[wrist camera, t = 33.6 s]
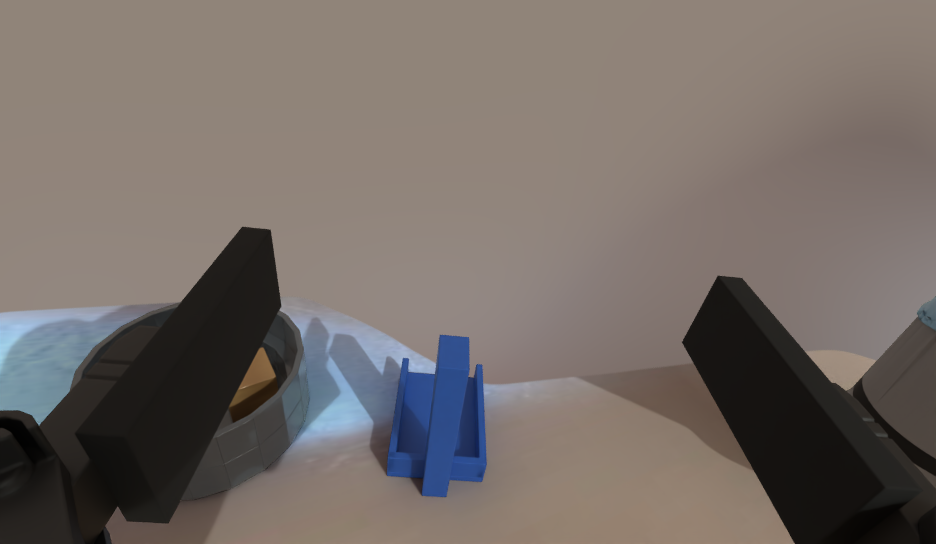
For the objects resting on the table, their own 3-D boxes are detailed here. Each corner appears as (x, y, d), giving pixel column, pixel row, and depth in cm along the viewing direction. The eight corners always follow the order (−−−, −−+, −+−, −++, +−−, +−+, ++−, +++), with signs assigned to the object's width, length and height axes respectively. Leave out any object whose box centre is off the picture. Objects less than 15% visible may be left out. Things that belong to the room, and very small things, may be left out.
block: (233, 424, 39) (225, 394, 37) (223, 392, 42) (215, 362, 40) (281, 406, 41) (276, 376, 39) (268, 376, 44) (263, 346, 42)
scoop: (482, 499, 37) (516, 373, 29) (384, 493, 37) (389, 363, 28) (478, 381, 47) (503, 263, 39) (401, 375, 47) (409, 253, 38)
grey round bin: (345, 398, 44) (342, 345, 40) (186, 548, 32) (160, 494, 28) (231, 329, 49) (219, 276, 45) (58, 434, 37) (21, 376, 33)
